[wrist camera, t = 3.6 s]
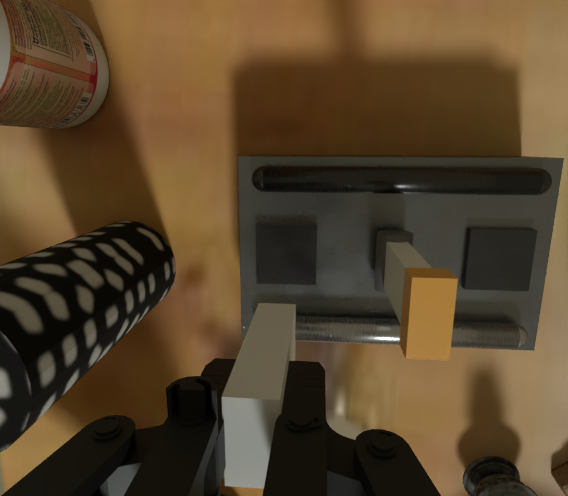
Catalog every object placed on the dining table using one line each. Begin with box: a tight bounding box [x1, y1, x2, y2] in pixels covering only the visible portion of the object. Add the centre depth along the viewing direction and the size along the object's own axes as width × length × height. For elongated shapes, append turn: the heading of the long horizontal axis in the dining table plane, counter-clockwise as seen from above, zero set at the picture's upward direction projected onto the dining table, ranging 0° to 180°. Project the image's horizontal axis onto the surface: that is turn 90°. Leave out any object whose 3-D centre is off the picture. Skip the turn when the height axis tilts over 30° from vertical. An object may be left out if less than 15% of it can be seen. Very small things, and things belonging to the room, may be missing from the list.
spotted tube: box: [0, 221, 176, 452], centre depth 29 cm, size 8×8×20 cm
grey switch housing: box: [238, 155, 564, 350], centre depth 33 cm, size 22×14×8 cm, turn 90°
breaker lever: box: [374, 230, 458, 361], centre depth 25 cm, size 2×4×11 cm, turn 0°
